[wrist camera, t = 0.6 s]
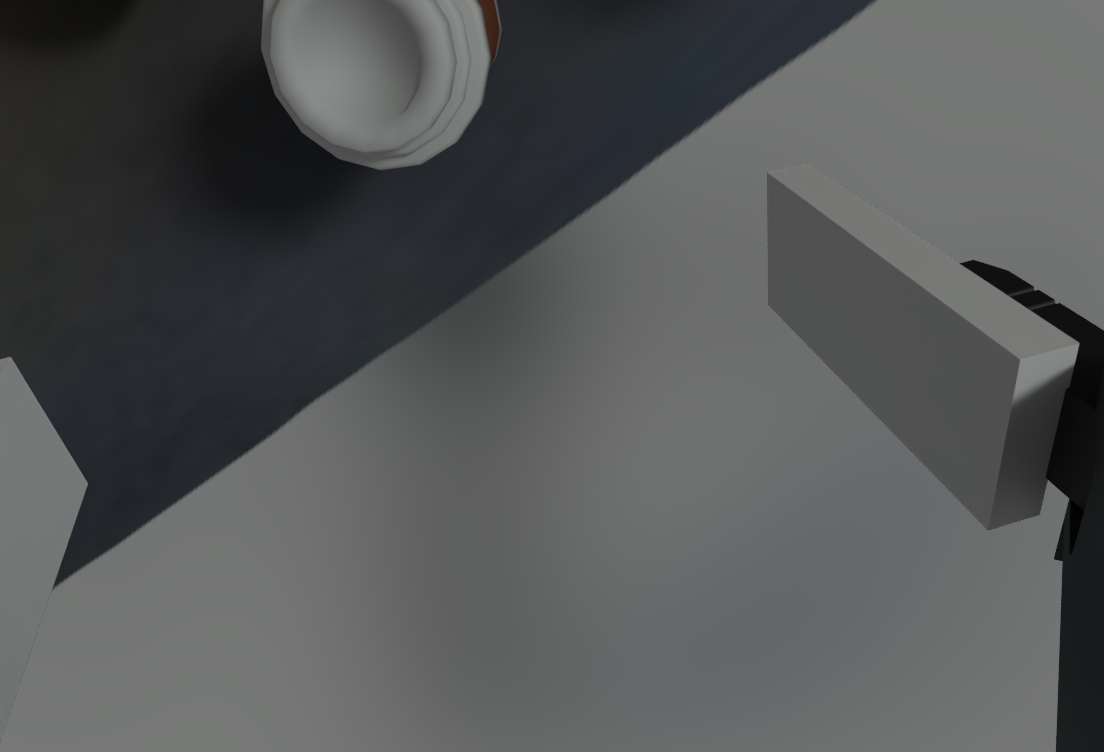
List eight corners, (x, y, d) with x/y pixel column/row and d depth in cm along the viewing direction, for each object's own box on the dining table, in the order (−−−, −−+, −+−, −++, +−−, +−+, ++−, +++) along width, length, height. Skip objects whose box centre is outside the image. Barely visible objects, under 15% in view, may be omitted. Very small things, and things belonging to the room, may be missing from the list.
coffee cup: (312, 20, 43) (192, 51, 32) (433, -126, 39) (342, -144, 29) (442, 157, 45) (369, 227, 35) (567, 32, 42) (529, 68, 31)
